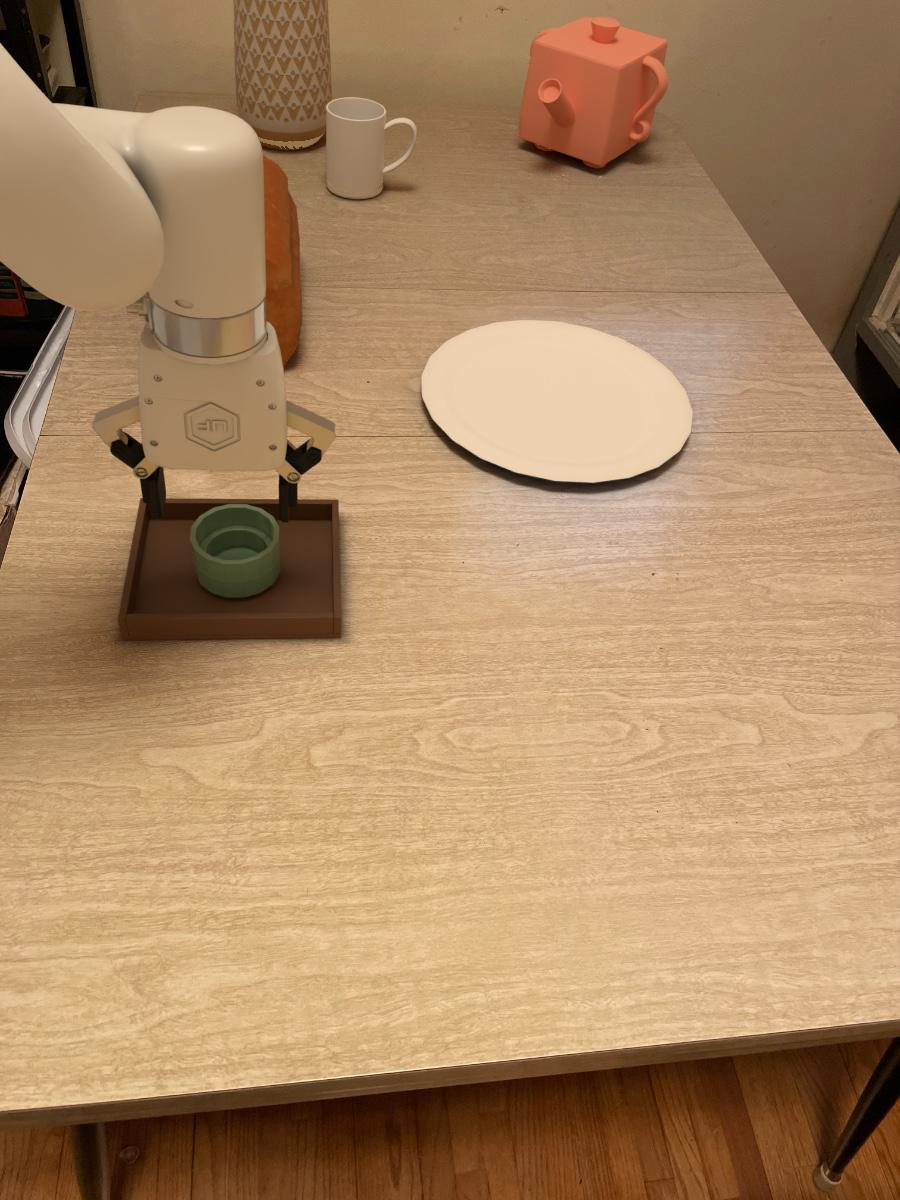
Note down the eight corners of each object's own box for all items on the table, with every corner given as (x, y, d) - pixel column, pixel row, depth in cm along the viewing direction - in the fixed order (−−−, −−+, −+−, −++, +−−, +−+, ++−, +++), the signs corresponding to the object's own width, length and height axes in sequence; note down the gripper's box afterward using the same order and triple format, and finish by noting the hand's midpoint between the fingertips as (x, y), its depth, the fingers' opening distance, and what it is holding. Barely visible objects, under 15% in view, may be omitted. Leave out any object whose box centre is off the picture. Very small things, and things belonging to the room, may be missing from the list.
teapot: (600, 202, 138) (628, 68, 125) (468, 155, 146) (482, 23, 133) (670, 151, 154) (701, 27, 141) (548, 110, 161) (567, -12, 148)
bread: (299, 253, 121) (295, 121, 109) (305, 376, 103) (302, 235, 91) (165, 250, 118) (148, 115, 107) (148, 376, 100) (125, 230, 89)
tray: (122, 640, 76) (117, 619, 74) (144, 519, 86) (140, 497, 84) (340, 637, 78) (341, 617, 77) (338, 519, 88) (338, 499, 86)
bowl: (192, 602, 79) (186, 563, 76) (199, 542, 84) (194, 503, 80) (280, 601, 80) (277, 563, 77) (282, 542, 85) (280, 504, 81)
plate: (514, 303, 117) (516, 290, 116) (732, 400, 107) (737, 387, 106) (363, 409, 100) (363, 396, 98) (607, 536, 90) (611, 523, 88)
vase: (219, 133, 143) (198, -120, 120) (287, 111, 150) (279, -130, 128) (283, 165, 137) (274, -94, 115) (350, 141, 145) (354, -106, 123)
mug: (323, 197, 132) (322, 116, 124) (329, 172, 137) (329, 94, 129) (411, 206, 132) (416, 127, 125) (414, 181, 138) (419, 104, 130)
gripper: (62, 338, 60) (101, 539, 72) (341, 352, 63) (333, 544, 75) (82, 278, 65) (115, 475, 77) (339, 294, 68) (332, 482, 80)
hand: (222, 509), depth 76 cm, fingers open, 9 cm apart
